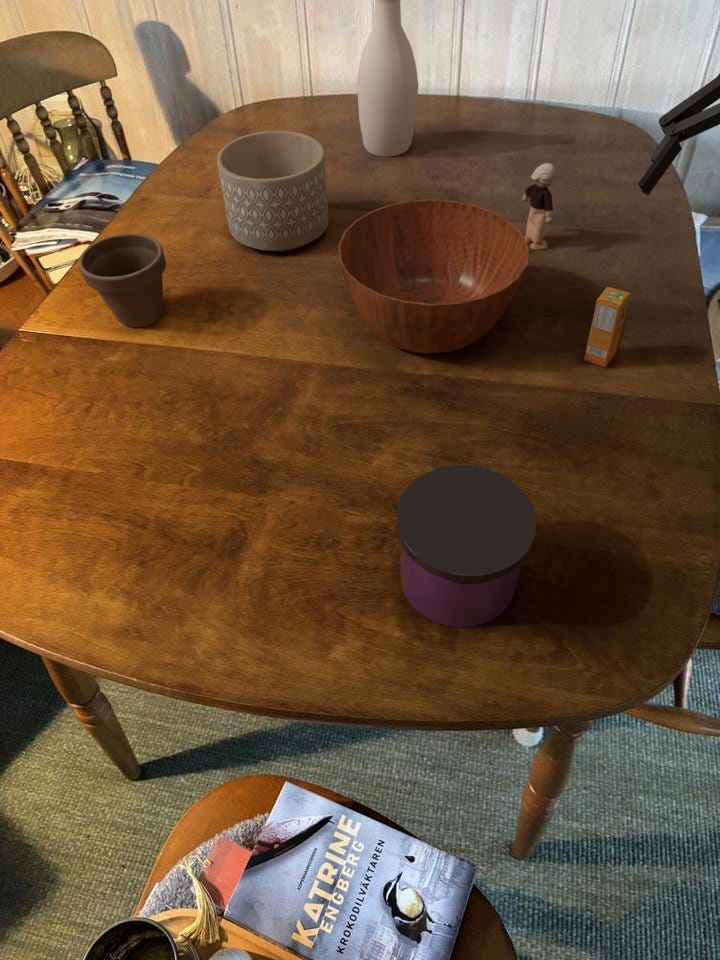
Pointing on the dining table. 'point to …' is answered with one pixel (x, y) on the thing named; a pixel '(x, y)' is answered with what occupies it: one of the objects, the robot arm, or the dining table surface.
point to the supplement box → (606, 326)
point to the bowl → (432, 272)
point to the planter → (274, 189)
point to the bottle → (387, 84)
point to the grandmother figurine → (539, 205)
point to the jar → (463, 543)
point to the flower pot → (127, 276)
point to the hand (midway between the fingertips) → (688, 211)
